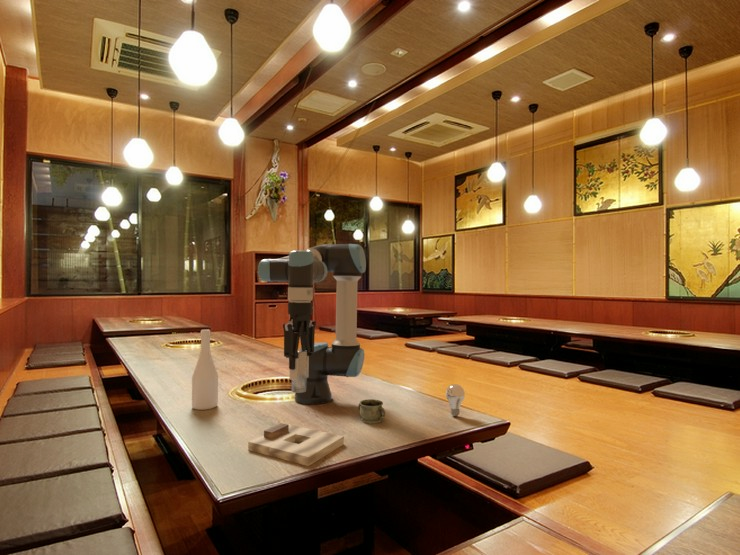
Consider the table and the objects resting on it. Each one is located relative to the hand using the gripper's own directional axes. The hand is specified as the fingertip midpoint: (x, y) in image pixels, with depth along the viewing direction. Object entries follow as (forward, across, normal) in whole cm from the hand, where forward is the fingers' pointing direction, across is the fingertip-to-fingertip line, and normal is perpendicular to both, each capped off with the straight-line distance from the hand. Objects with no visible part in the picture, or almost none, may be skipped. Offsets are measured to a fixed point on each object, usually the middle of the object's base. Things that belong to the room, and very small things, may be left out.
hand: (299, 378), depth 135 cm
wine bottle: (+20, +13, +56) cm, 61 cm away
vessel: (+20, +33, -7) cm, 40 cm away
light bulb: (+20, +52, -32) cm, 65 cm away
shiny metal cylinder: (+4, 0, 0) cm, 4 cm away
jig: (+21, -1, 0) cm, 21 cm away
